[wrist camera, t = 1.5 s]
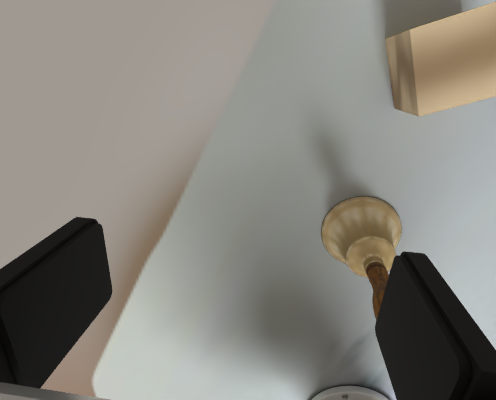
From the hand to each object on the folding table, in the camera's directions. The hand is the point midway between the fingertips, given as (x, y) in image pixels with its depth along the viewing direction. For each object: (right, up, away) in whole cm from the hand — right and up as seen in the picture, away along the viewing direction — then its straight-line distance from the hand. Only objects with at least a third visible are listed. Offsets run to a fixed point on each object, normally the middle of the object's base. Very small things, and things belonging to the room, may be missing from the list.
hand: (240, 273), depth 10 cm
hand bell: (+12, -1, +24) cm, 27 cm away
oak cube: (+16, +14, +17) cm, 27 cm away
